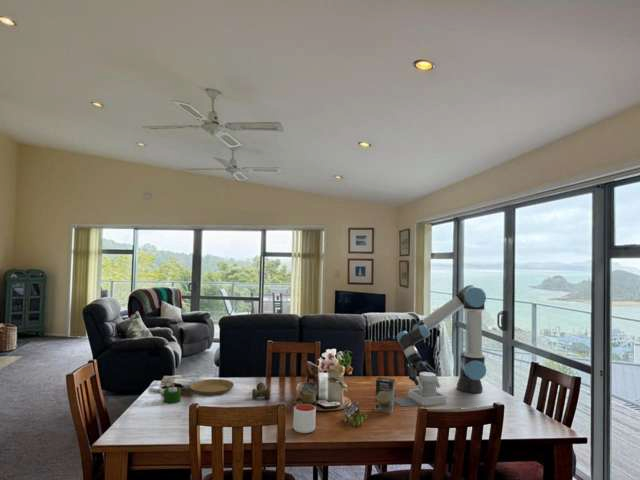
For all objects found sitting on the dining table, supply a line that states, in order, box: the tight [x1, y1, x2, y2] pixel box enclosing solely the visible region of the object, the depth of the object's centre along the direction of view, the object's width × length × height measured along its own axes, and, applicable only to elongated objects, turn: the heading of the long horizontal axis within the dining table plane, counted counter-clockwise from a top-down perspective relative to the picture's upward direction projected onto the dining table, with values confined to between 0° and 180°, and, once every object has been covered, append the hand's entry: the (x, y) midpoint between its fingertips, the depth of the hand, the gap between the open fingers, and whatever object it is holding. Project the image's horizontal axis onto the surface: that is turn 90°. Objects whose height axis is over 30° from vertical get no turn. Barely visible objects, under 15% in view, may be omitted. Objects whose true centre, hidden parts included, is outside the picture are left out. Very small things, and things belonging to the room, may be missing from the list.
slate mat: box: [394, 397, 421, 407], centre depth 240 cm, size 12×12×1 cm
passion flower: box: [342, 401, 368, 428], centre depth 207 cm, size 11×11×12 cm
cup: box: [292, 403, 317, 434], centre depth 197 cm, size 10×10×10 cm
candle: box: [163, 381, 182, 405], centre depth 228 cm, size 8×8×10 cm
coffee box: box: [374, 376, 396, 415], centre depth 225 cm, size 9×6×16 cm
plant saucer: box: [190, 378, 235, 397], centre depth 248 cm, size 24×24×3 cm
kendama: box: [251, 382, 271, 400], centre depth 240 cm, size 6×10×20 cm
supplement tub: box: [418, 371, 437, 398], centre depth 244 cm, size 10×10×15 cm
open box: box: [408, 388, 448, 406], centre depth 244 cm, size 15×15×4 cm
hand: (430, 388), depth 242 cm, fingers open, 13 cm apart
